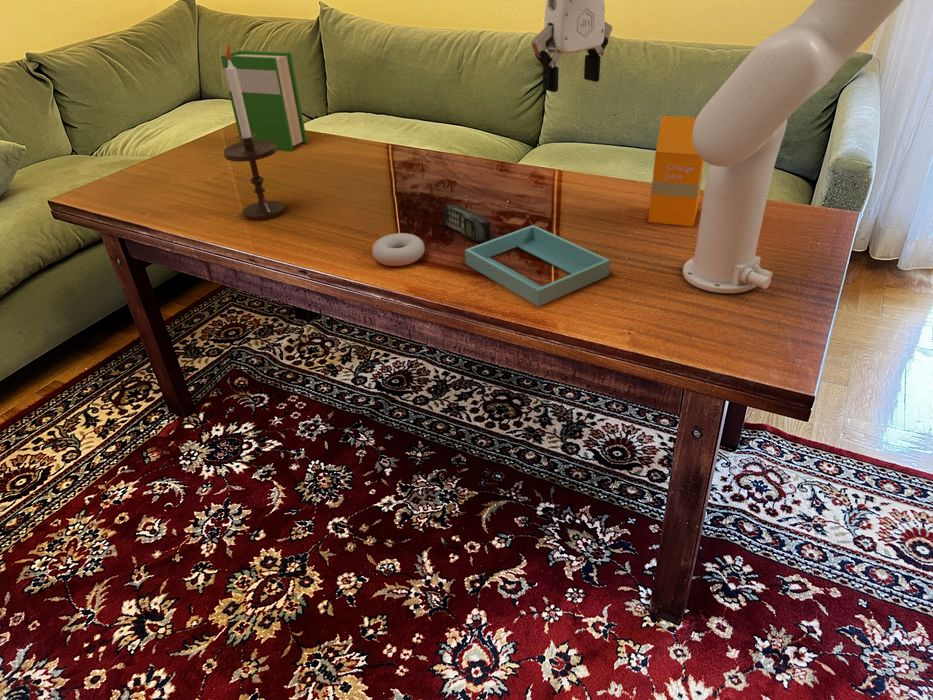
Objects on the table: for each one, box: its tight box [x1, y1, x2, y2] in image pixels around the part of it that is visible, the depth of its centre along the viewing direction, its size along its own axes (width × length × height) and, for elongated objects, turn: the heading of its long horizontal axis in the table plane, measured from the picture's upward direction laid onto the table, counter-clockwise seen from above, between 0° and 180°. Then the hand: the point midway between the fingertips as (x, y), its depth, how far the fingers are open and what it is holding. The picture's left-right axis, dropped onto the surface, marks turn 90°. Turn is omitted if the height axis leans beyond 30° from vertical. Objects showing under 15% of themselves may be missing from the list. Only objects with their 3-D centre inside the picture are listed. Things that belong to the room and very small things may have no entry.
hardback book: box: [220, 50, 308, 152], centre depth 187 cm, size 18×7×24 cm, turn 65°
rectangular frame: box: [464, 224, 611, 307], centre depth 121 cm, size 20×16×3 cm
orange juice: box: [647, 115, 705, 227], centre depth 132 cm, size 8×9×20 cm
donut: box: [371, 232, 426, 267], centre depth 128 cm, size 10×4×10 cm
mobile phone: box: [442, 203, 493, 243], centre depth 134 cm, size 5×3×15 cm
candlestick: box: [222, 43, 286, 221], centre depth 141 cm, size 11×11×35 cm
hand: (571, 85), depth 117 cm, fingers open, 9 cm apart
